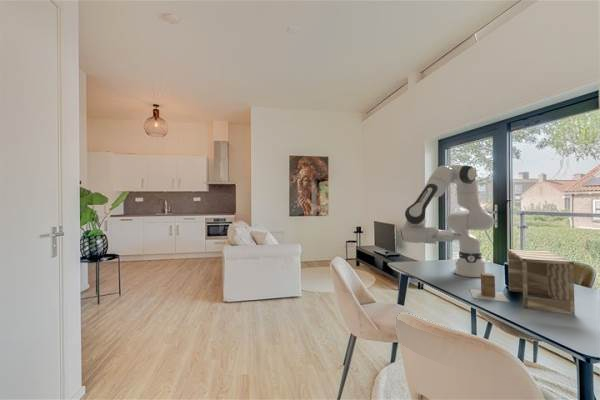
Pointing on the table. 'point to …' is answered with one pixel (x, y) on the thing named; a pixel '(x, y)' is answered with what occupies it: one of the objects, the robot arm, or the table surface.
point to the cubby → (542, 279)
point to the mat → (498, 297)
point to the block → (488, 284)
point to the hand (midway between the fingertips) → (461, 236)
